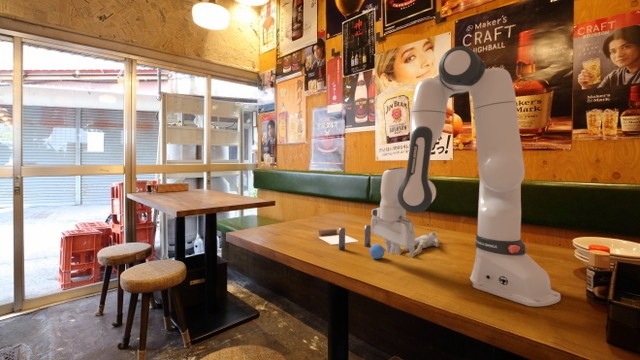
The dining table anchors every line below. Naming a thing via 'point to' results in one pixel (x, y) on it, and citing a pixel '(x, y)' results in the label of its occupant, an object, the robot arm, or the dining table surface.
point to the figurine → (420, 244)
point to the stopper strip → (327, 232)
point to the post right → (367, 236)
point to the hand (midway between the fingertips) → (390, 252)
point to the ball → (377, 251)
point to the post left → (341, 238)
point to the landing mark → (337, 239)
